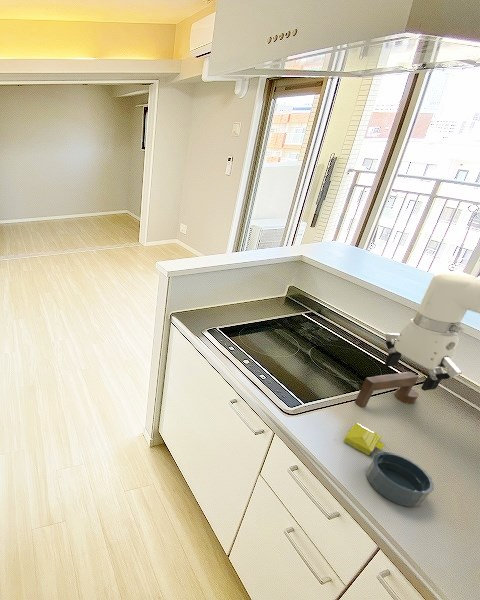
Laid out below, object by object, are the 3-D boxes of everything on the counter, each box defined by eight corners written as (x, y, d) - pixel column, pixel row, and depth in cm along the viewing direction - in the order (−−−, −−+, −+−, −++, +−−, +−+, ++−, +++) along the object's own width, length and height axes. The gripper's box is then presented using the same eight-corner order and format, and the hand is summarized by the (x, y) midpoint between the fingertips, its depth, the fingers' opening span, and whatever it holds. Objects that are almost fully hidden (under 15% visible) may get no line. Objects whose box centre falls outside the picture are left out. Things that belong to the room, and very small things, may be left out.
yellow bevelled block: (349, 421, 88) (353, 413, 87) (392, 443, 81) (397, 436, 80) (333, 440, 83) (337, 432, 82) (379, 466, 76) (384, 458, 75)
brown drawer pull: (403, 391, 97) (417, 367, 92) (419, 402, 93) (433, 378, 88) (350, 399, 95) (362, 375, 91) (364, 410, 91) (376, 385, 87)
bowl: (391, 463, 77) (400, 449, 75) (435, 504, 68) (447, 489, 66) (354, 469, 76) (362, 455, 74) (394, 511, 67) (405, 497, 65)
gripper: (493, 339, 72) (457, 397, 80) (412, 304, 88) (389, 355, 95) (463, 343, 72) (430, 402, 79) (387, 307, 87) (365, 359, 95)
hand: (407, 376), depth 87 cm, fingers open, 9 cm apart
